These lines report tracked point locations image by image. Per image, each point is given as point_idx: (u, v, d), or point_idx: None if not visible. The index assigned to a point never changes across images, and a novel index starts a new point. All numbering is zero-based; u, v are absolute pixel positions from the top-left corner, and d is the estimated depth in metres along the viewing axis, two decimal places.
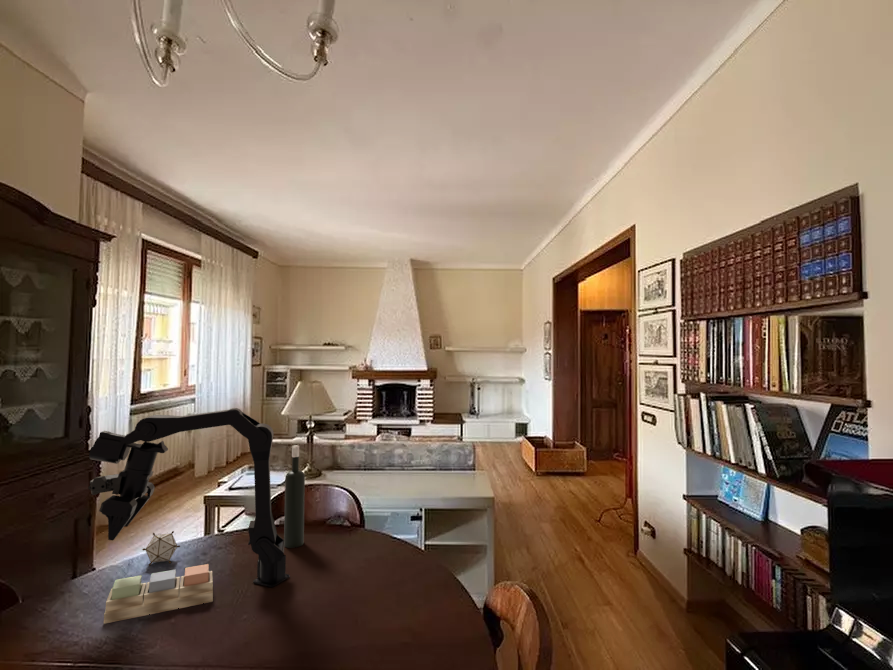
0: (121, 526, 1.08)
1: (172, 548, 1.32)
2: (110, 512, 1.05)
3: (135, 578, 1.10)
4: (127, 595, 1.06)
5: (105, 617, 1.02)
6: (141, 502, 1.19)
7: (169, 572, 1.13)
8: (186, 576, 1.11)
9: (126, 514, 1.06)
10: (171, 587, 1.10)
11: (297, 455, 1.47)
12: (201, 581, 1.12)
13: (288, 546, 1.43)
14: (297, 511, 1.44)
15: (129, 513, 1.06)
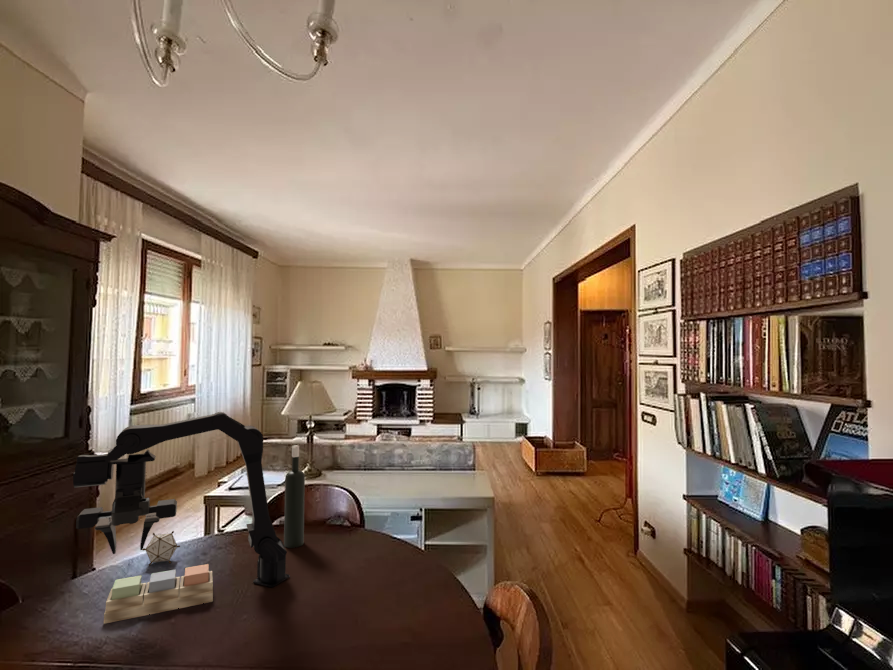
0: None
1: (172, 548, 1.32)
2: None
3: (135, 578, 1.10)
4: (127, 595, 1.06)
5: (105, 617, 1.02)
6: None
7: (169, 572, 1.13)
8: (186, 576, 1.11)
9: None
10: (171, 587, 1.10)
11: (297, 455, 1.47)
12: (201, 581, 1.12)
13: (288, 546, 1.43)
14: (297, 511, 1.44)
15: None
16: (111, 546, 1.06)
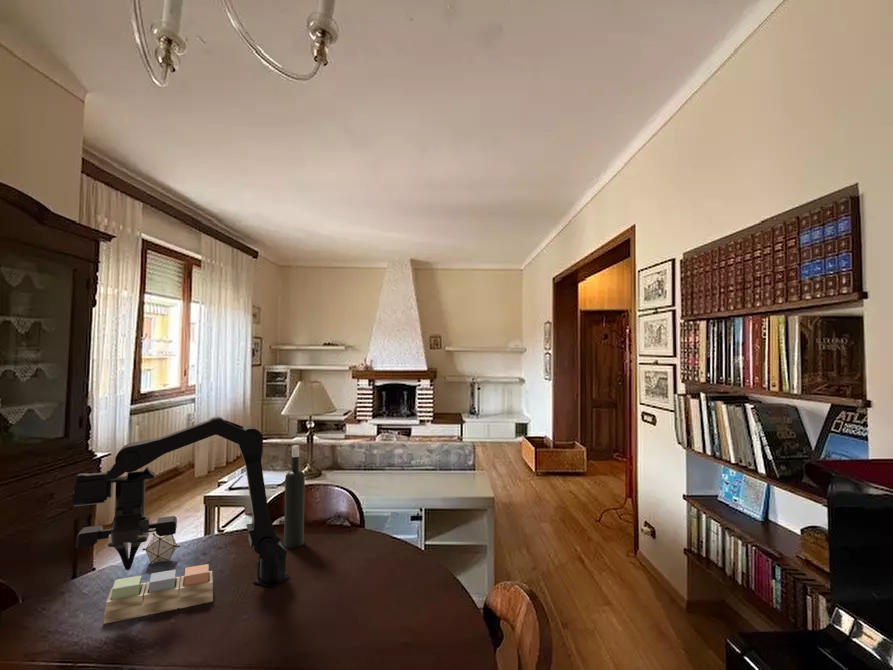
0: None
1: (172, 548, 1.32)
2: None
3: (135, 578, 1.10)
4: (127, 595, 1.06)
5: (105, 617, 1.02)
6: None
7: (169, 572, 1.13)
8: (186, 576, 1.11)
9: None
10: (171, 587, 1.10)
11: (297, 455, 1.47)
12: (201, 581, 1.12)
13: (288, 546, 1.43)
14: (297, 511, 1.44)
15: None
16: (123, 562, 1.07)
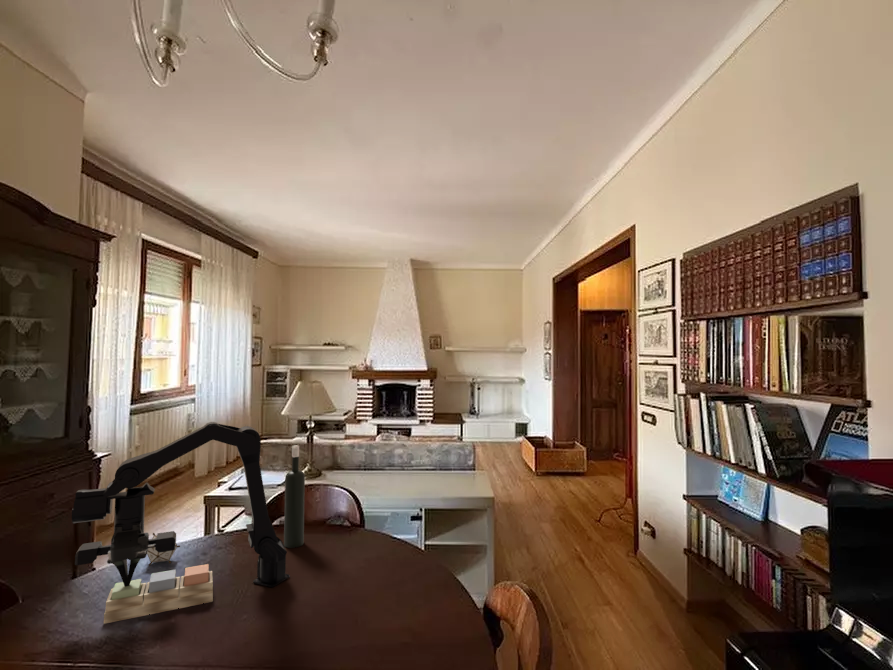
0: None
1: None
2: None
3: (135, 581, 1.10)
4: None
5: (105, 617, 1.02)
6: None
7: (169, 572, 1.13)
8: (186, 576, 1.11)
9: None
10: (171, 587, 1.10)
11: (297, 455, 1.47)
12: (201, 581, 1.12)
13: (288, 546, 1.43)
14: (297, 511, 1.44)
15: None
16: (123, 579, 1.07)
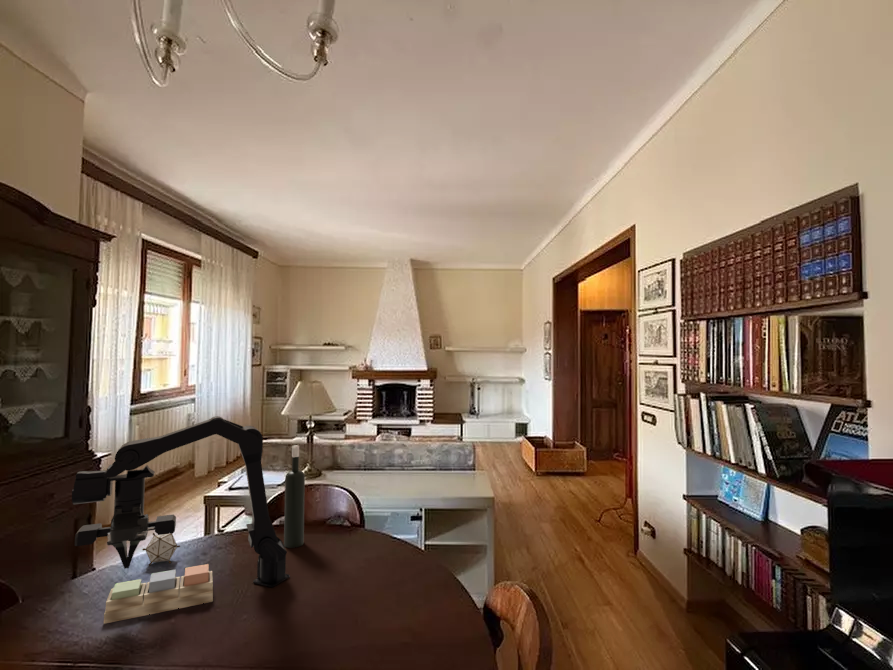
0: None
1: (172, 548, 1.32)
2: None
3: (135, 582, 1.10)
4: None
5: (105, 617, 1.02)
6: None
7: (169, 572, 1.13)
8: (186, 576, 1.11)
9: None
10: (171, 587, 1.10)
11: (297, 455, 1.47)
12: (201, 581, 1.12)
13: (288, 546, 1.43)
14: (297, 511, 1.44)
15: None
16: (122, 561, 1.07)
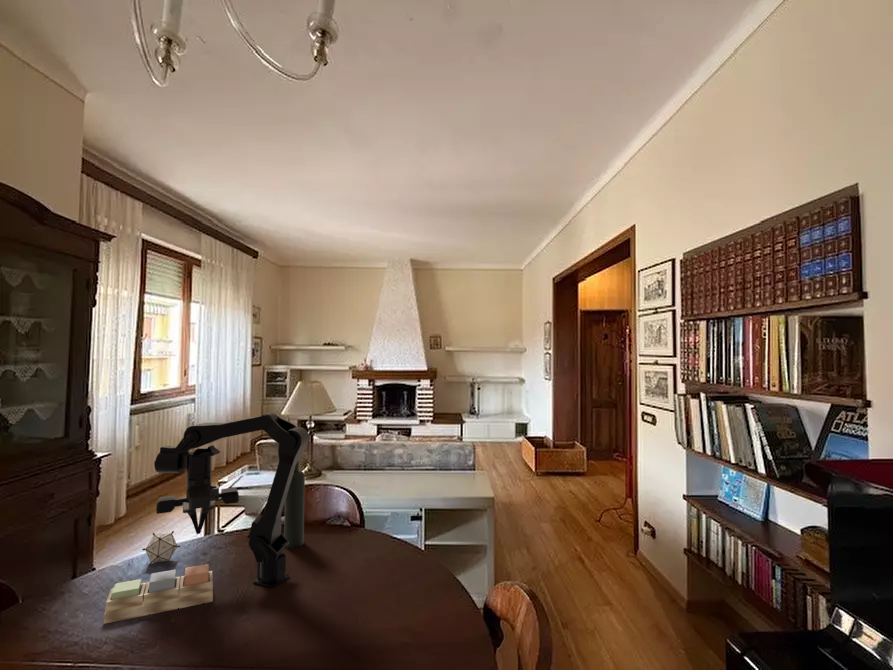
0: None
1: (172, 548, 1.32)
2: None
3: (135, 582, 1.10)
4: None
5: (105, 617, 1.02)
6: None
7: (169, 572, 1.13)
8: (186, 576, 1.11)
9: None
10: (171, 587, 1.10)
11: None
12: (201, 581, 1.12)
13: (288, 546, 1.43)
14: (297, 511, 1.44)
15: None
16: (195, 527, 1.23)
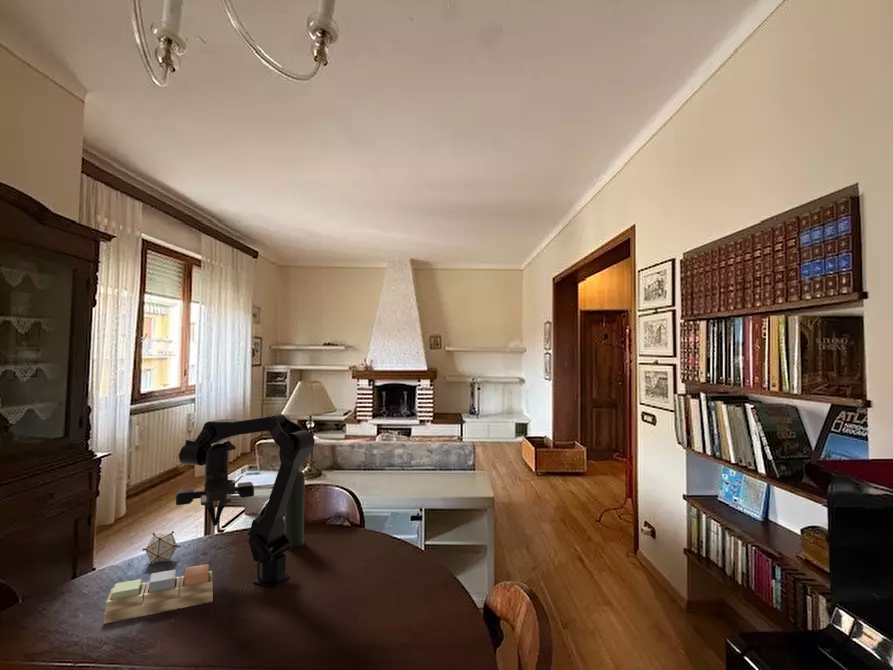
0: None
1: (172, 548, 1.32)
2: None
3: (135, 582, 1.10)
4: None
5: (105, 617, 1.02)
6: None
7: (169, 572, 1.13)
8: (186, 576, 1.11)
9: None
10: (171, 587, 1.10)
11: None
12: (201, 581, 1.12)
13: None
14: (297, 511, 1.44)
15: None
16: (212, 519, 1.27)
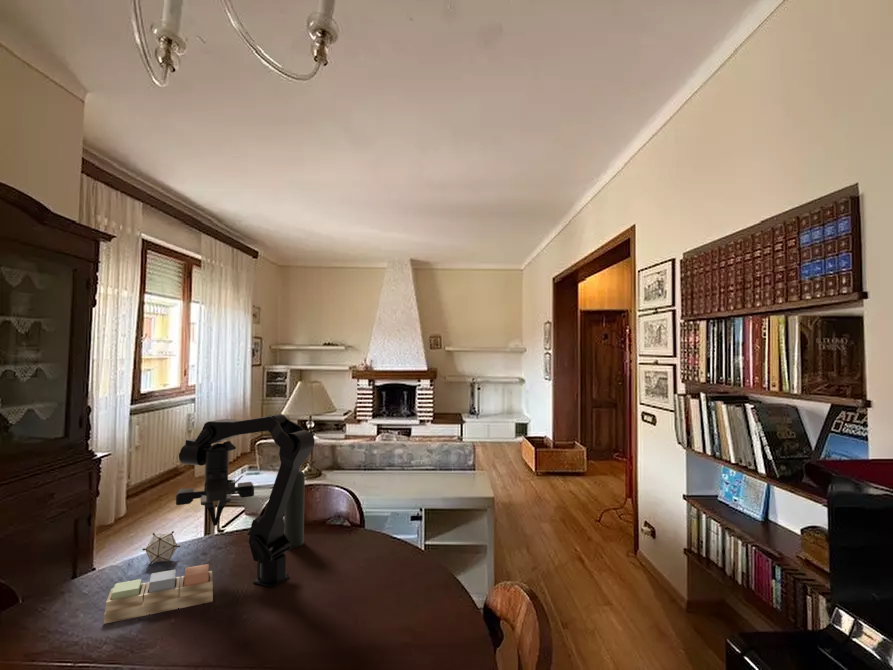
0: None
1: (172, 548, 1.32)
2: None
3: (135, 582, 1.10)
4: None
5: (105, 617, 1.02)
6: None
7: (169, 572, 1.13)
8: (186, 576, 1.11)
9: None
10: (171, 587, 1.10)
11: None
12: (201, 581, 1.12)
13: None
14: (297, 511, 1.44)
15: None
16: (212, 519, 1.27)
